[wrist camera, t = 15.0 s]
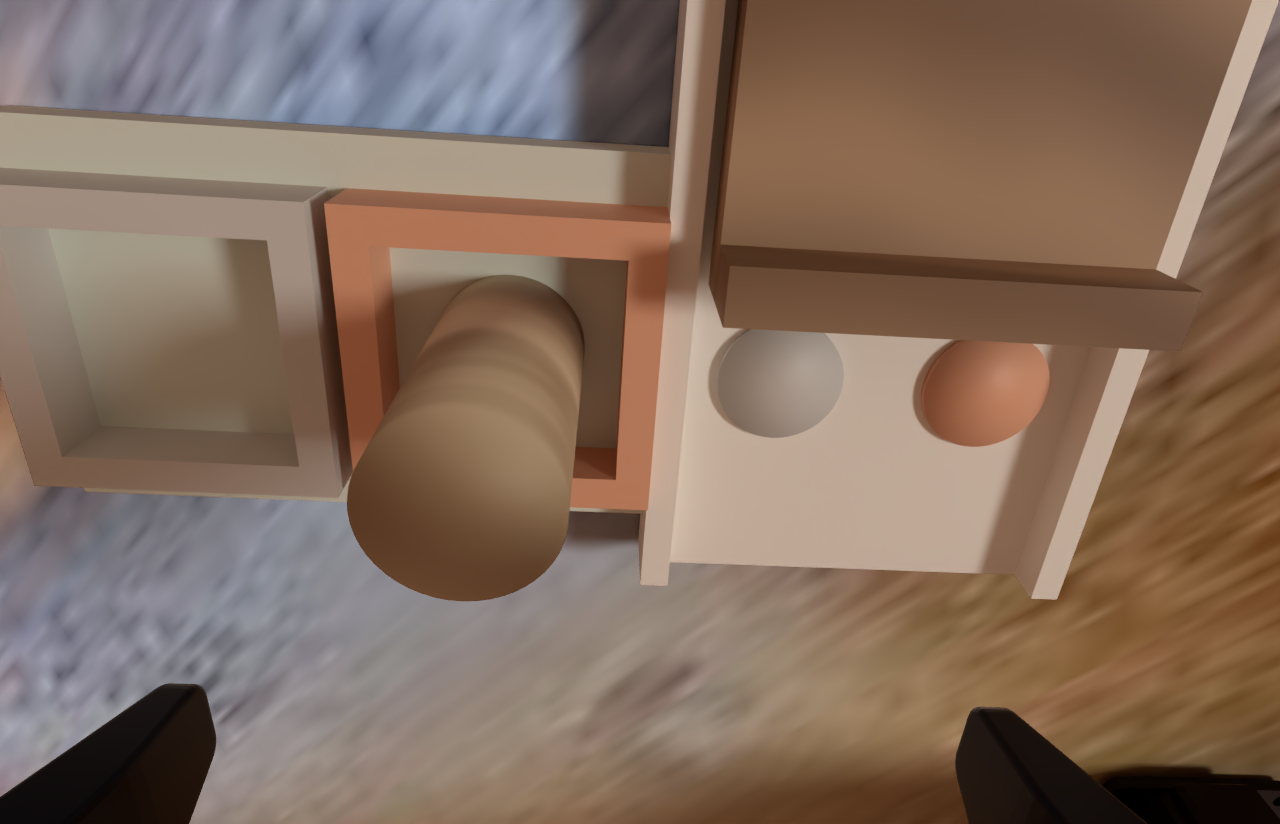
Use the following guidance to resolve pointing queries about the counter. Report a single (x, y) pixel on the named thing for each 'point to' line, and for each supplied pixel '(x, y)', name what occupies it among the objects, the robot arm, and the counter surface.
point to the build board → (301, 292)
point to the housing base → (873, 397)
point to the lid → (965, 166)
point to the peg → (477, 447)
